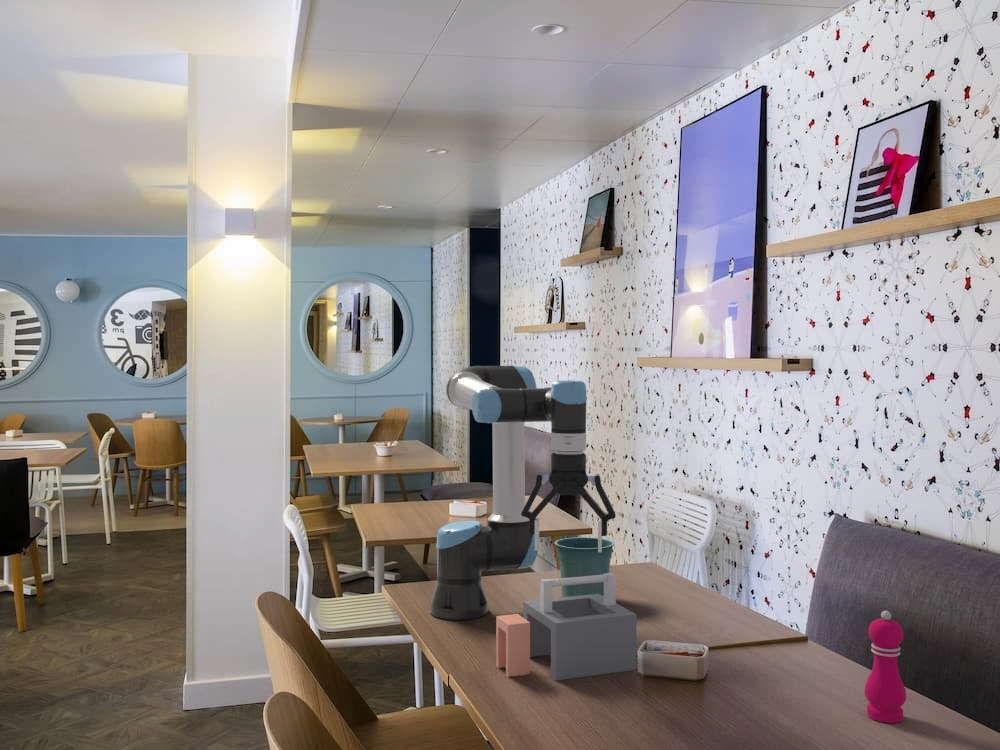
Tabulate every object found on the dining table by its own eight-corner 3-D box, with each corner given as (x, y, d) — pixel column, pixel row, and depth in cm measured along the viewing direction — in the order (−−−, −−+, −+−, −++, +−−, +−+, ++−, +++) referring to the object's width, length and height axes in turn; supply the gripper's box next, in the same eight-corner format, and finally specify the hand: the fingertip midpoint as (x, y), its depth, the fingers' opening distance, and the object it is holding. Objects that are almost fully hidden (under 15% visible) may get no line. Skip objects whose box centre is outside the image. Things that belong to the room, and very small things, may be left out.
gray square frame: (522, 654, 207) (523, 571, 207) (598, 644, 214) (598, 564, 213) (555, 680, 190) (555, 590, 190) (636, 669, 197) (636, 582, 197)
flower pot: (544, 596, 256) (544, 539, 256) (594, 590, 263) (594, 534, 263) (573, 611, 242) (573, 550, 241) (625, 604, 248) (626, 545, 248)
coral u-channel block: (496, 666, 199) (496, 616, 199) (517, 663, 201) (517, 613, 200) (507, 677, 192) (508, 625, 192) (529, 674, 194) (530, 622, 194)
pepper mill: (857, 710, 175) (858, 606, 174) (893, 708, 175) (894, 605, 175) (875, 725, 168) (877, 616, 167) (913, 724, 168) (915, 616, 168)
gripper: (509, 453, 195) (509, 552, 196) (627, 454, 192) (626, 555, 193) (512, 449, 203) (512, 544, 203) (626, 451, 200) (626, 547, 200)
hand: (568, 550), depth 198 cm, fingers open, 13 cm apart
